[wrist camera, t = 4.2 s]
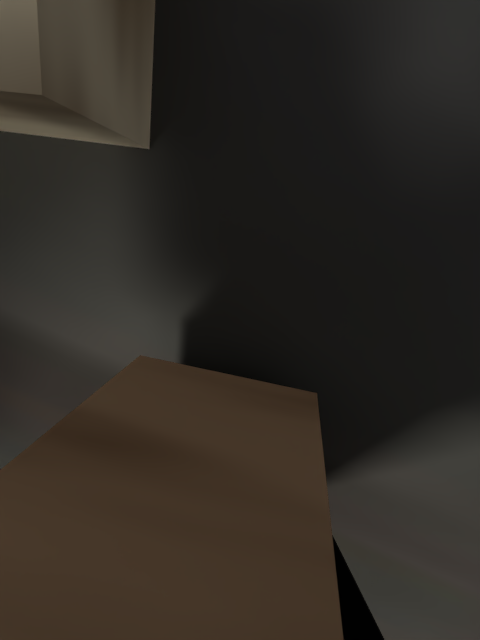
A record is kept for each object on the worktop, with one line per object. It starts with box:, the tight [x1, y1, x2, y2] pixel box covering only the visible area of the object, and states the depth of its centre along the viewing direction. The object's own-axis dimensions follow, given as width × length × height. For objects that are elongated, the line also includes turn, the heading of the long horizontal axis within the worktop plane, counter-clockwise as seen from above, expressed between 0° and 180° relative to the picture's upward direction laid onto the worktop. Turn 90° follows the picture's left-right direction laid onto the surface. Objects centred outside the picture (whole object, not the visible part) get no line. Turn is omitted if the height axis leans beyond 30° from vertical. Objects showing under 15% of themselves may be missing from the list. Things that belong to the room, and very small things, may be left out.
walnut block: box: [0, 355, 343, 640], centre depth 6 cm, size 5×5×6 cm
